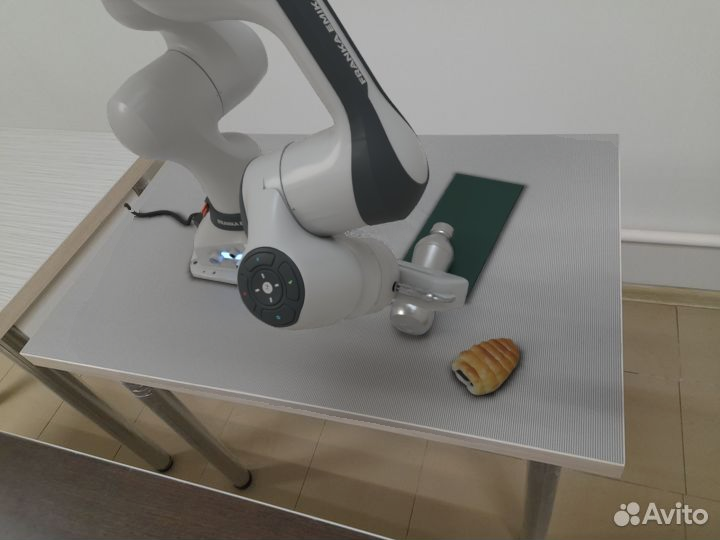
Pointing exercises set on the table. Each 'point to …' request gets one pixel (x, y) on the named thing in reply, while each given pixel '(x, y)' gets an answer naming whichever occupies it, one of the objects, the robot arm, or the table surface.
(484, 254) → the mat
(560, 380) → the table surface
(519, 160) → the table surface
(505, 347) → the pastry
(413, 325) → the plastic bottle
